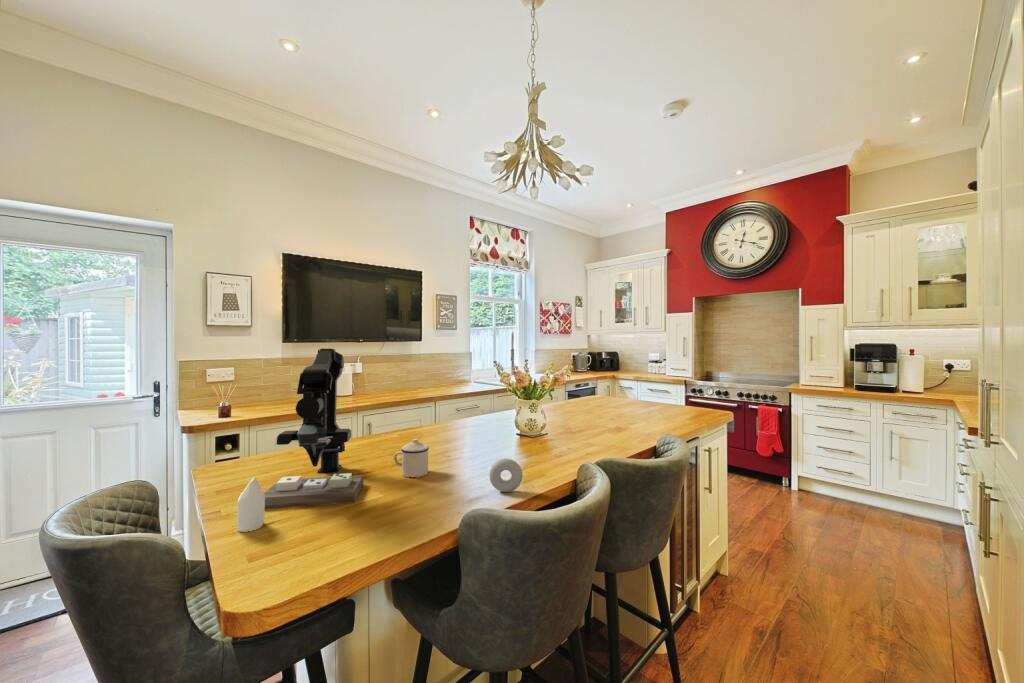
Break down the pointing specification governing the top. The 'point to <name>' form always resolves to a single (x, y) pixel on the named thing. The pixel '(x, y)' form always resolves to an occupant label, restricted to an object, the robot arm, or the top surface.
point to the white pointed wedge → (251, 507)
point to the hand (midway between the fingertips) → (315, 466)
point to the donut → (505, 484)
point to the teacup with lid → (413, 459)
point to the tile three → (341, 480)
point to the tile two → (315, 484)
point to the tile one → (288, 483)
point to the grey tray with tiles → (313, 494)
